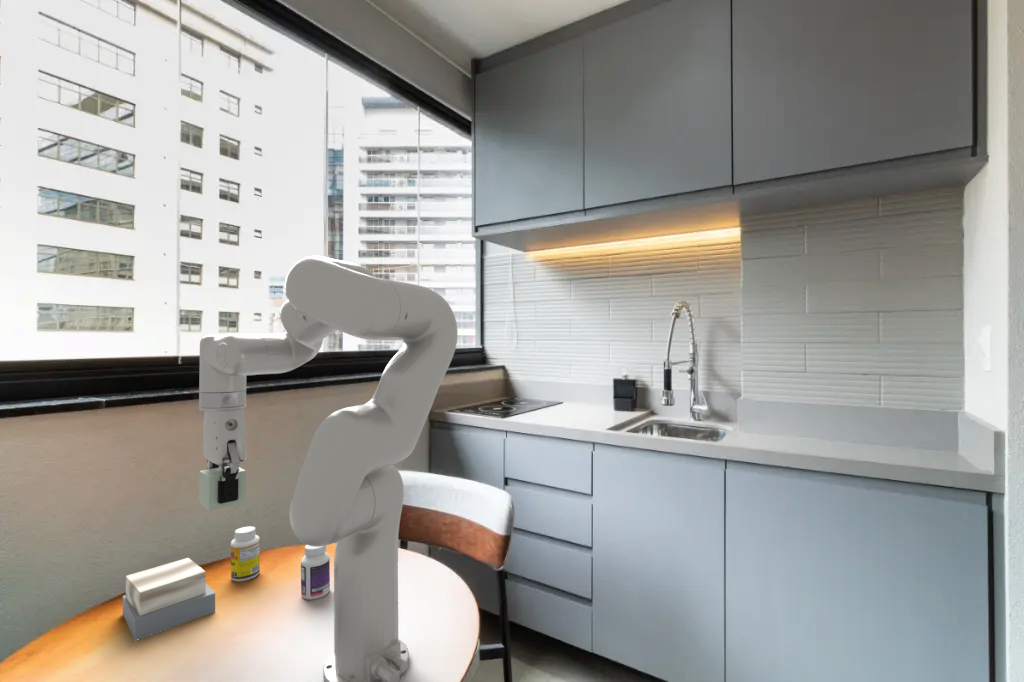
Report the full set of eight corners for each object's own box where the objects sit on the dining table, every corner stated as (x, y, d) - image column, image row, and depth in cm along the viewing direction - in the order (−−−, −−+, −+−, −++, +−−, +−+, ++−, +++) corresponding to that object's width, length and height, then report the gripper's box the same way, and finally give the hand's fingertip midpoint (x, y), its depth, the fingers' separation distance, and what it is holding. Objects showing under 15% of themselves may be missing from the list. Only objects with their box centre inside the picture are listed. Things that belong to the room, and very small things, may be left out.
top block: (205, 592, 90) (205, 571, 90) (140, 615, 82) (140, 592, 82) (188, 577, 96) (188, 557, 96) (125, 597, 89) (125, 575, 89)
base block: (215, 614, 90) (215, 593, 90) (135, 643, 81) (135, 620, 81) (197, 592, 98) (197, 573, 98) (122, 617, 89) (122, 595, 89)
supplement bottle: (231, 574, 105) (231, 527, 105) (259, 568, 107) (259, 523, 108) (229, 585, 100) (229, 536, 100) (259, 578, 103) (259, 531, 103)
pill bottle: (334, 587, 99) (334, 540, 99) (321, 601, 93) (321, 551, 93) (309, 586, 99) (309, 539, 99) (295, 599, 94) (295, 550, 94)
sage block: (245, 502, 89) (245, 470, 89) (208, 510, 84) (209, 477, 84) (234, 495, 93) (235, 464, 93) (199, 503, 88) (199, 470, 88)
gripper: (261, 403, 86) (260, 503, 85) (230, 395, 97) (229, 483, 97) (214, 407, 80) (213, 514, 80) (187, 398, 92) (186, 492, 92)
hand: (222, 496), depth 89 cm, fingers closed on sage block, 6 cm apart
